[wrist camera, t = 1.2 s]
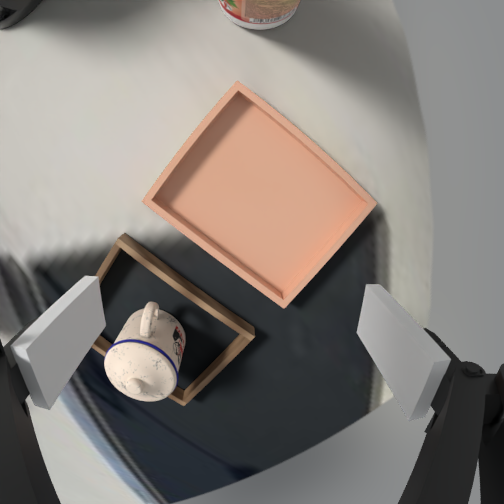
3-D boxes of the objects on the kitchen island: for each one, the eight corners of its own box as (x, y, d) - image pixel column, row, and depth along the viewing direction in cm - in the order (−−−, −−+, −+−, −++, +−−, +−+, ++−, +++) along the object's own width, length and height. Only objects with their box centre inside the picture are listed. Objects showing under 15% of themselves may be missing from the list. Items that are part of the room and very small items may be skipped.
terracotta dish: (148, 197, 35) (141, 201, 33) (237, 85, 32) (237, 80, 29) (281, 298, 40) (283, 308, 37) (368, 199, 37) (377, 203, 34)
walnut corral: (73, 320, 40) (66, 328, 38) (124, 232, 37) (118, 238, 34) (185, 395, 45) (184, 406, 42) (254, 327, 41) (255, 336, 39)
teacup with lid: (183, 366, 43) (171, 424, 32) (124, 351, 42) (98, 404, 31) (195, 294, 39) (181, 345, 28) (127, 278, 38) (92, 323, 27)
